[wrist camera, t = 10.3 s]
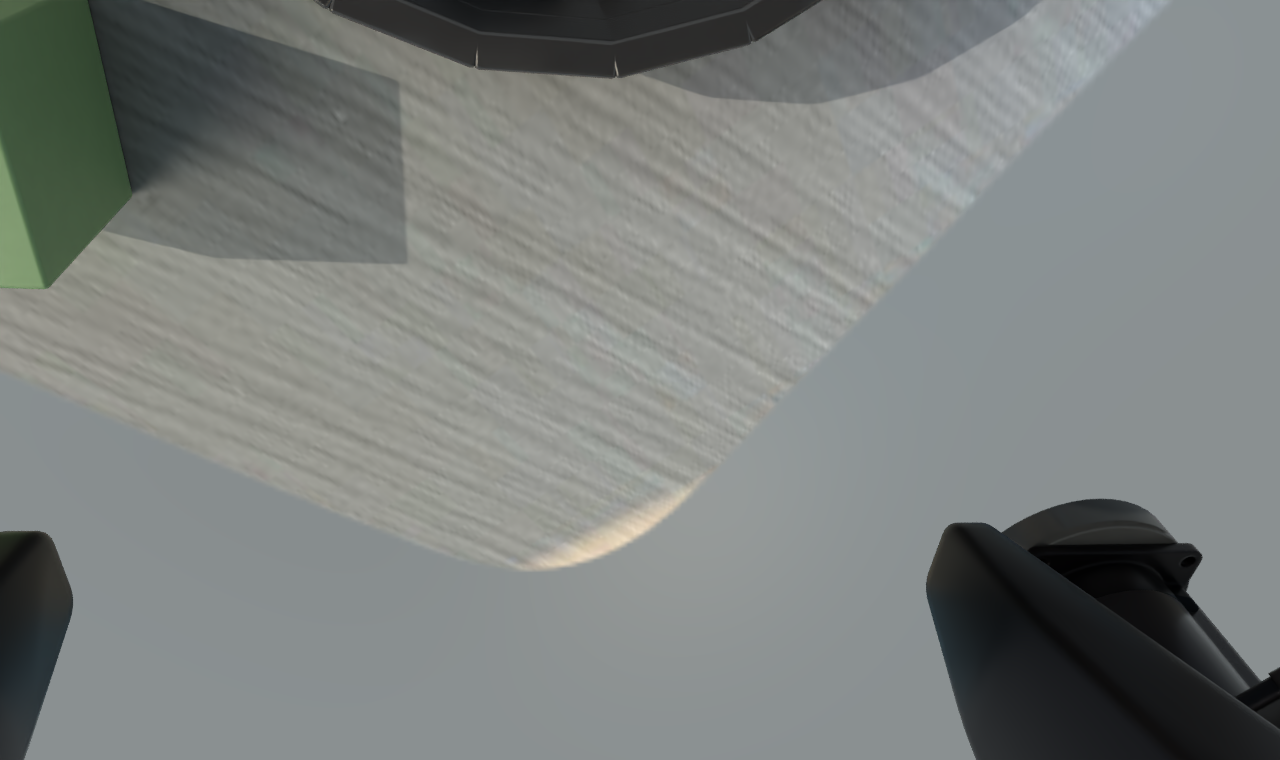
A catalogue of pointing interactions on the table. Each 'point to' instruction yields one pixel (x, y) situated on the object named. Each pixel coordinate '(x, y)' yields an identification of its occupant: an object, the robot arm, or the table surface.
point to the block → (53, 141)
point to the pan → (572, 30)
